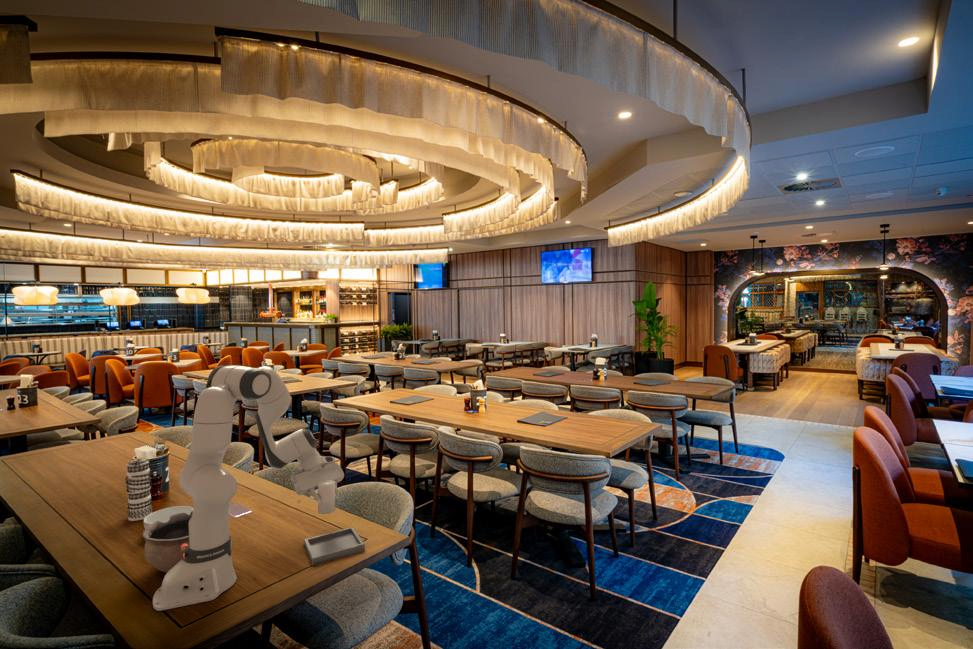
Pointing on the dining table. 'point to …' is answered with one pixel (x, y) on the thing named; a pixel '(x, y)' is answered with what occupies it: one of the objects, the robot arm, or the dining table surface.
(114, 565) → the dining table surface
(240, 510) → the mobile phone
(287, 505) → the dining table surface
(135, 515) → the decorative candle
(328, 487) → the cream capsule shape
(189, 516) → the ceramic bowl
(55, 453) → the dining table surface
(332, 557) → the serving tray
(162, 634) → the dining table surface
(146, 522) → the cereal bowl
